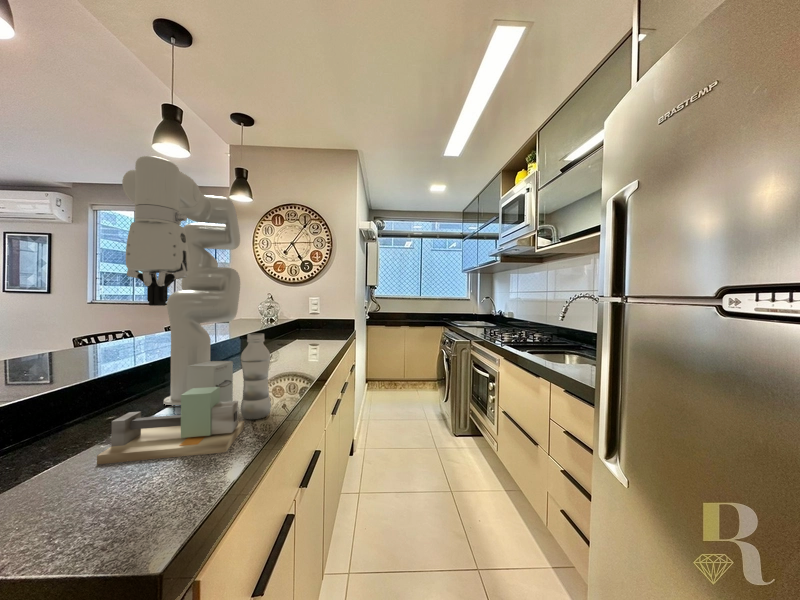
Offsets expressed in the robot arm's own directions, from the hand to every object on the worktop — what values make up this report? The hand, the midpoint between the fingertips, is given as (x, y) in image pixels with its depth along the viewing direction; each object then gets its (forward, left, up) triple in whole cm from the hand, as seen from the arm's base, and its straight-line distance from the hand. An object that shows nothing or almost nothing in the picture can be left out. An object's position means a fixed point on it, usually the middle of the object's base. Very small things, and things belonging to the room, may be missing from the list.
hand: (157, 305), depth 66 cm
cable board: (+6, +7, -27) cm, 29 cm away
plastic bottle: (-6, +18, -27) cm, 33 cm away
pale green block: (+6, +11, -25) cm, 28 cm away
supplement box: (-12, +6, -27) cm, 30 cm away
